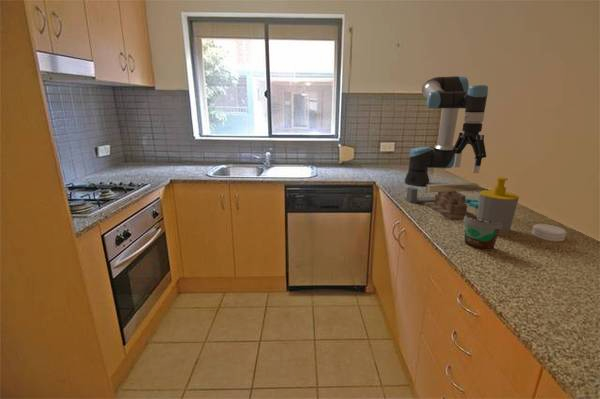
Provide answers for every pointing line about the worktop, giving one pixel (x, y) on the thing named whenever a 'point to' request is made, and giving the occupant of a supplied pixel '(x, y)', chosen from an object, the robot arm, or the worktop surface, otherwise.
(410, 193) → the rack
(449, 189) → the birch bar
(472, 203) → the alien figure
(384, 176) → the worktop surface
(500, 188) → the soap bottle
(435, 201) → the fulcrum
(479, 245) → the food container
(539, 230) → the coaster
